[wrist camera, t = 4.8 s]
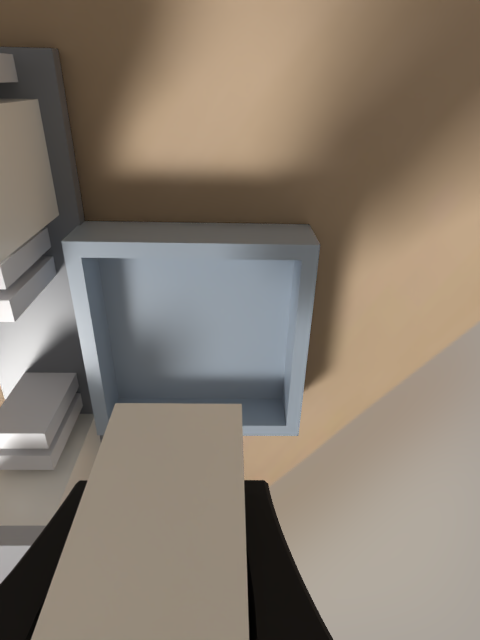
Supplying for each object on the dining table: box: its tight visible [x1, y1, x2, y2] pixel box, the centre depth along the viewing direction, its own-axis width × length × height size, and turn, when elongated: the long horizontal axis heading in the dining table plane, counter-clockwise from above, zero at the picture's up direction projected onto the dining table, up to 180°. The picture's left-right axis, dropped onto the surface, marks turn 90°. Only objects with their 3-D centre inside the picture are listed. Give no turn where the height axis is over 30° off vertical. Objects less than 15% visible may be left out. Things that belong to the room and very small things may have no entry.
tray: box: [61, 221, 320, 436], centre depth 19 cm, size 9×9×2 cm
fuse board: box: [0, 47, 104, 470], centre depth 18 cm, size 5×21×5 cm, turn 179°
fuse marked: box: [31, 403, 249, 640], centre depth 10 cm, size 4×4×7 cm
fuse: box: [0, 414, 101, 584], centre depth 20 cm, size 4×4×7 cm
